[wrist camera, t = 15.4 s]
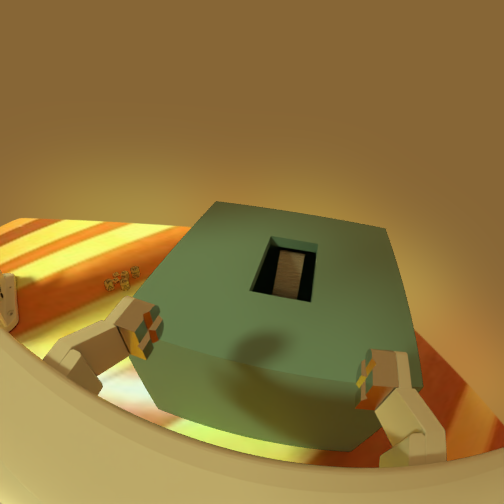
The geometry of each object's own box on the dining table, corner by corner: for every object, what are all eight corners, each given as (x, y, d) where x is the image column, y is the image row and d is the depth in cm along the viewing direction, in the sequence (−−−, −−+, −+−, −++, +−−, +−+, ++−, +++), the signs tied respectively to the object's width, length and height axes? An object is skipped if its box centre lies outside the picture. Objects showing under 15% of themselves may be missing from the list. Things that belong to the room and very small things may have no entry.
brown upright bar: (286, 350, 26) (304, 254, 27) (261, 346, 27) (280, 249, 28) (287, 341, 31) (303, 259, 32) (267, 337, 32) (283, 255, 33)
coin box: (350, 451, 20) (423, 387, 12) (158, 408, 24) (112, 322, 16) (355, 315, 36) (385, 228, 28) (219, 290, 40) (216, 201, 32)
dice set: (142, 275, 43) (140, 266, 42) (132, 296, 39) (129, 286, 38) (116, 273, 43) (113, 264, 42) (105, 293, 39) (101, 284, 37)
